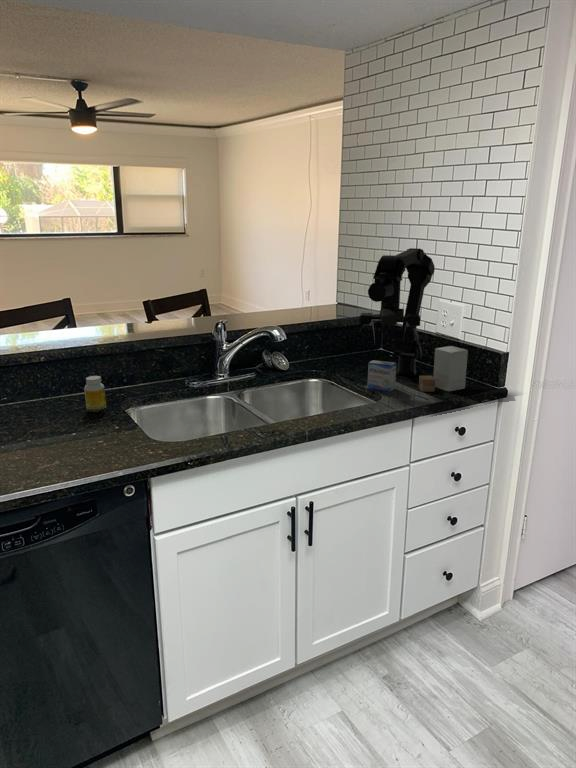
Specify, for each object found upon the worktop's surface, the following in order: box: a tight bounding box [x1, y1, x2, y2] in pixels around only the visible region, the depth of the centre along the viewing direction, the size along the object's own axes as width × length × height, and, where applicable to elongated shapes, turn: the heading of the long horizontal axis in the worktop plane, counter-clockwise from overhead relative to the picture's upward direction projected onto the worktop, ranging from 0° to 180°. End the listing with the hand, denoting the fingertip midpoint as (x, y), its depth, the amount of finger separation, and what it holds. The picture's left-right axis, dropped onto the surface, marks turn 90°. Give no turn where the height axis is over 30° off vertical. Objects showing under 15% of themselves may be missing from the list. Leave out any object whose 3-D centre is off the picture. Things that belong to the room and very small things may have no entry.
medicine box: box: [367, 359, 397, 393], centre depth 178 cm, size 8×4×9 cm, turn 62°
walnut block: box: [418, 375, 436, 393], centre depth 178 cm, size 4×4×4 cm
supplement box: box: [432, 345, 469, 392], centre depth 179 cm, size 7×7×13 cm
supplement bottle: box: [83, 375, 107, 411], centre depth 159 cm, size 5×5×10 cm
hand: (388, 346), depth 180 cm, fingers open, 9 cm apart
